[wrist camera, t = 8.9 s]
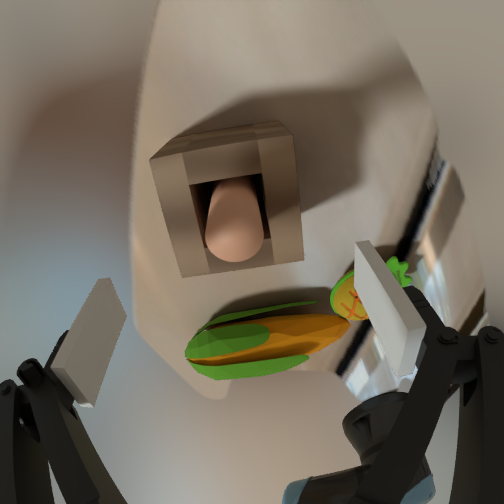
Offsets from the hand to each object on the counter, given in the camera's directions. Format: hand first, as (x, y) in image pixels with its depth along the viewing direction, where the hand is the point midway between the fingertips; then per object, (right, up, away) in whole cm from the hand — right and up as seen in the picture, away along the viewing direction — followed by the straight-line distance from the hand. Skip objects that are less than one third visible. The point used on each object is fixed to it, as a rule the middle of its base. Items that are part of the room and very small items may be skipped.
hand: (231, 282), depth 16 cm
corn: (+3, -7, +23) cm, 24 cm away
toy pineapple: (+14, -1, +20) cm, 25 cm away
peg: (-1, +8, +14) cm, 16 cm away
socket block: (-1, +8, +14) cm, 16 cm away
